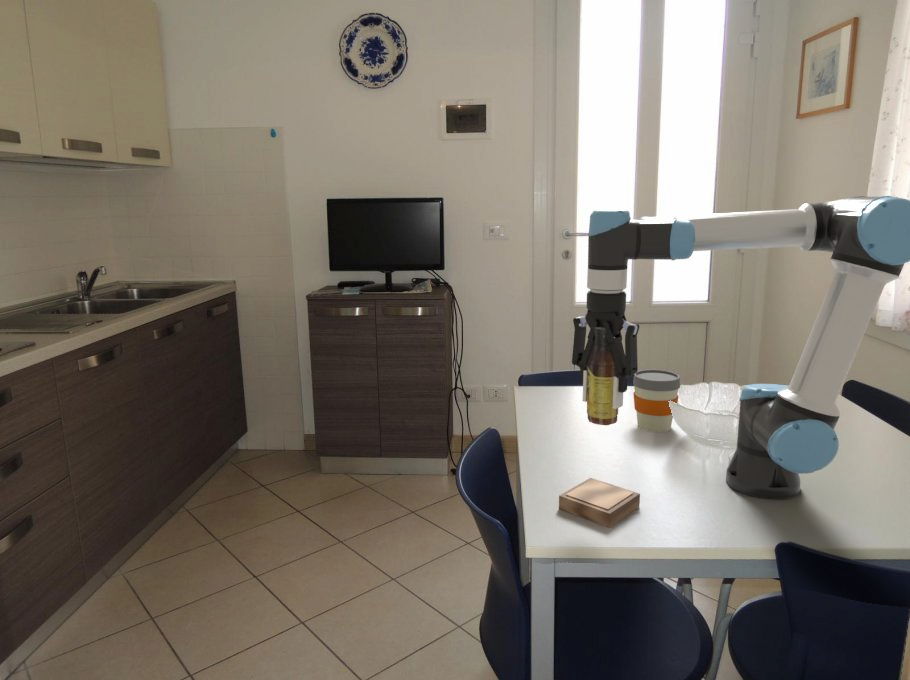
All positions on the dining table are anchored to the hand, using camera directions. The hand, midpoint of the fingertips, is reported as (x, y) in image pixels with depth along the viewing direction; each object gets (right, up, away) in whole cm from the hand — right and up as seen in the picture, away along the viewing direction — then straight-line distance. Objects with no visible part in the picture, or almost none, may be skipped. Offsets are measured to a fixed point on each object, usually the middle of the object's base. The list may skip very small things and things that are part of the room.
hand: (602, 403), depth 135 cm
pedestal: (0, -22, +5) cm, 23 cm away
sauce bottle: (0, -4, +1) cm, 4 cm away
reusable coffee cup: (+26, -12, +53) cm, 60 cm away
